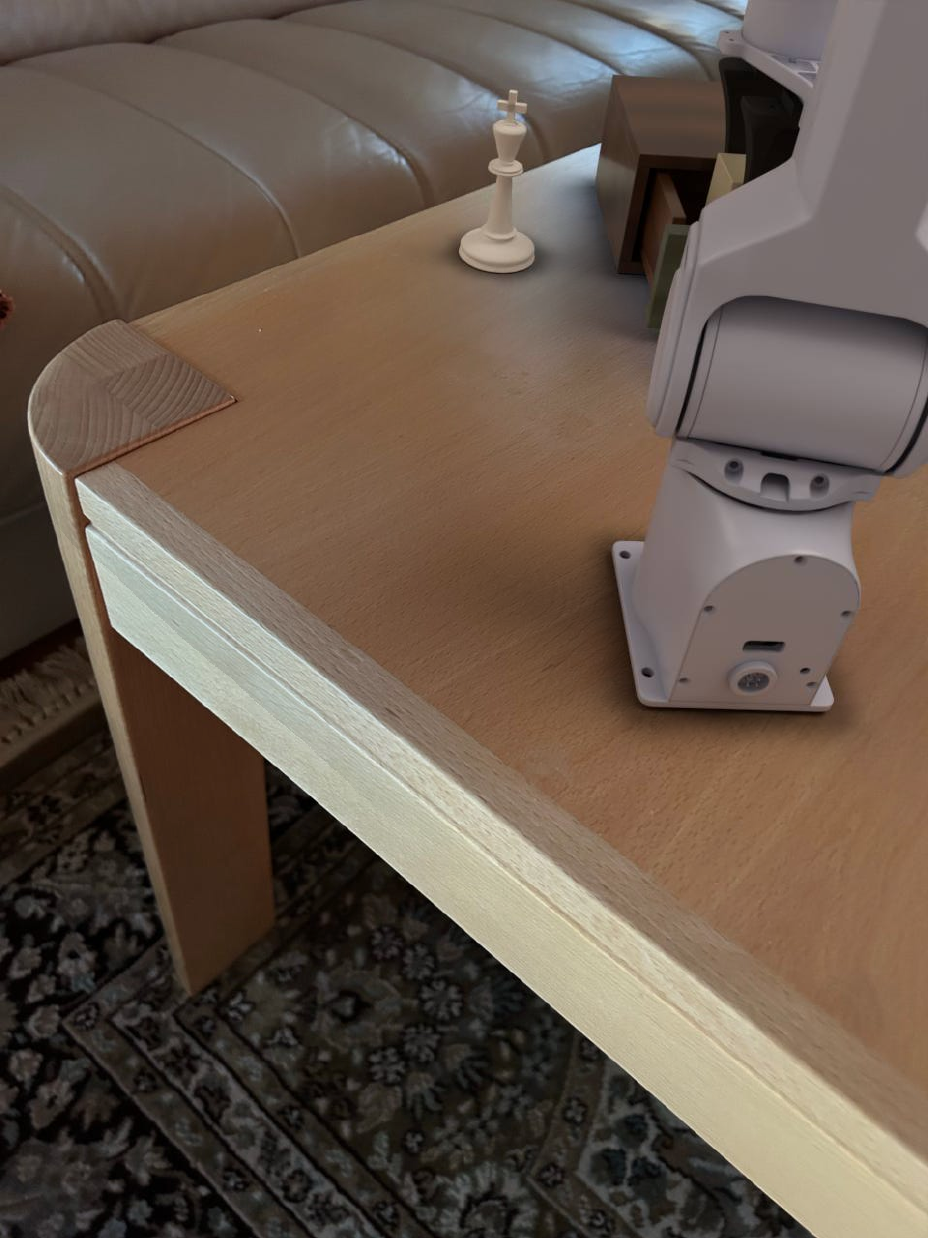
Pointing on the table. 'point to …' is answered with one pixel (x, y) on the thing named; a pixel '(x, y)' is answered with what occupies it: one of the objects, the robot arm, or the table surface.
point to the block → (726, 175)
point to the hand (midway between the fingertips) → (748, 213)
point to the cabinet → (652, 148)
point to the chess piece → (501, 203)
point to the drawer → (667, 229)
